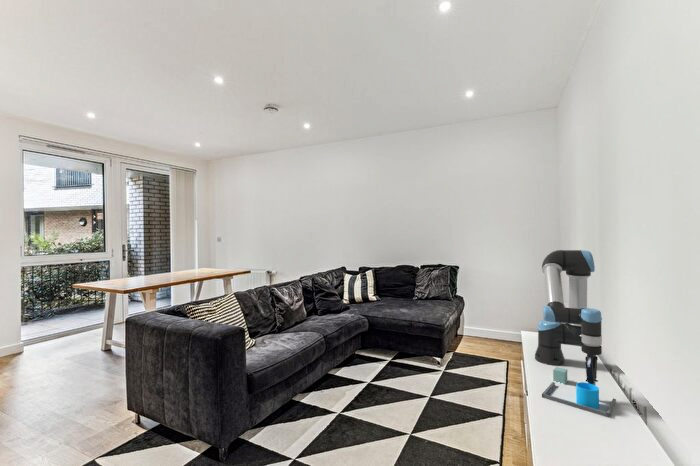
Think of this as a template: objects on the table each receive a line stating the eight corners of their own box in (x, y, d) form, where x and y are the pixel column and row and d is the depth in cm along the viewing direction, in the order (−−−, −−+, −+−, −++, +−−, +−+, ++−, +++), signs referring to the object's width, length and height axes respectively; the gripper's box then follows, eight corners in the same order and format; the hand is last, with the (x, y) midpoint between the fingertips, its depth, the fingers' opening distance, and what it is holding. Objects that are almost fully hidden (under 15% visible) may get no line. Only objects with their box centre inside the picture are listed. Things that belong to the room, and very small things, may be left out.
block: (556, 378, 180) (556, 366, 180) (567, 381, 176) (567, 369, 176) (553, 381, 176) (553, 369, 176) (564, 384, 173) (564, 372, 173)
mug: (600, 411, 147) (600, 392, 147) (577, 407, 151) (577, 388, 151) (596, 399, 158) (596, 381, 158) (575, 395, 162) (574, 377, 162)
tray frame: (552, 385, 172) (552, 382, 172) (615, 402, 155) (615, 399, 155) (541, 397, 160) (541, 394, 160) (609, 417, 142) (609, 414, 142)
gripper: (584, 338, 165) (585, 388, 165) (578, 345, 155) (578, 398, 156) (604, 342, 159) (604, 393, 160) (598, 349, 150) (599, 404, 150)
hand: (591, 396), depth 158 cm, fingers closed
